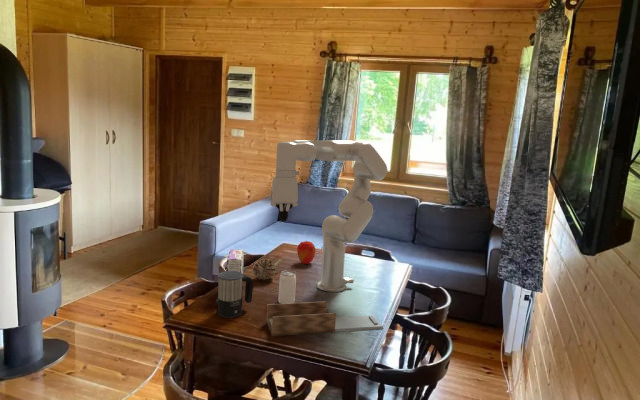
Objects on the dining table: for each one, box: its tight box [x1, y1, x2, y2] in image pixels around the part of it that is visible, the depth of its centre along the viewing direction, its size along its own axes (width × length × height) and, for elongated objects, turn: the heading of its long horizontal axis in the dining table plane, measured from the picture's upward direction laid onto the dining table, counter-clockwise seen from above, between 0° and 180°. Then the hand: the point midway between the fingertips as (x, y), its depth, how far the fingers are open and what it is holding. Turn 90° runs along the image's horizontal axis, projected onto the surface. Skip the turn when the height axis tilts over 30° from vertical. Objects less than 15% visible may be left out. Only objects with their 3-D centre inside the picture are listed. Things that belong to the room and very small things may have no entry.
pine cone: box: [252, 258, 283, 281], centre depth 221 cm, size 22×10×10 cm, turn 161°
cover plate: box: [334, 315, 384, 333], centre depth 177 cm, size 18×9×2 cm, turn 105°
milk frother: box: [215, 270, 254, 319], centre depth 183 cm, size 14×16×15 cm
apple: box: [297, 239, 317, 265], centre depth 244 cm, size 9×9×12 cm
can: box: [278, 270, 297, 304], centre depth 193 cm, size 6×6×12 cm
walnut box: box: [266, 300, 337, 337], centre depth 171 cm, size 22×11×7 cm, turn 106°
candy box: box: [226, 248, 245, 275], centre depth 199 cm, size 14×6×16 cm, turn 5°
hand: (283, 220), depth 191 cm, fingers closed
